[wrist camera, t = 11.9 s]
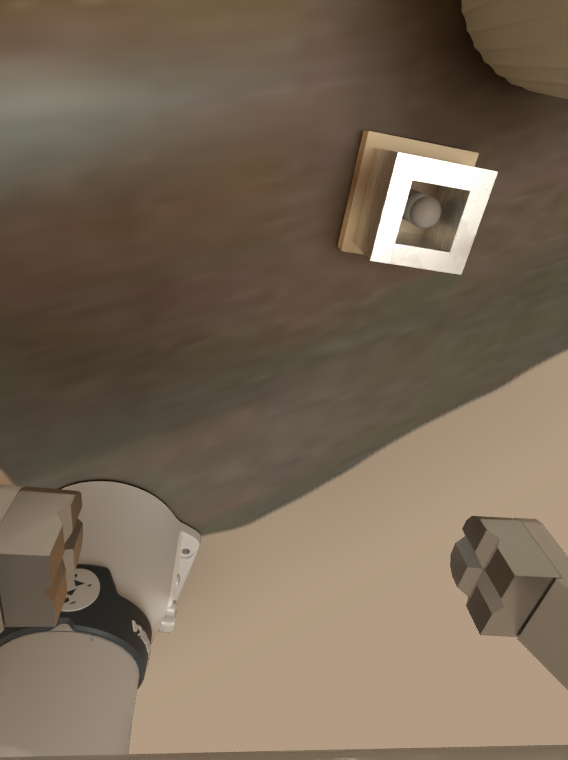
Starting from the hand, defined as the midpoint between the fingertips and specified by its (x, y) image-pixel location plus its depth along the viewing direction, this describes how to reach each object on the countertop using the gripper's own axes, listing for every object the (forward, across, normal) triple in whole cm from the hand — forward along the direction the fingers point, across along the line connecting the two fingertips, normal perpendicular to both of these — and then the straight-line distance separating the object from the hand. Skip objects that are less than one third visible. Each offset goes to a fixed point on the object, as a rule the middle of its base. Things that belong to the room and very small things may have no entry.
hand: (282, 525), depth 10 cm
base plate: (+29, +11, +4) cm, 31 cm away
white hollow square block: (+28, +11, +4) cm, 30 cm away
